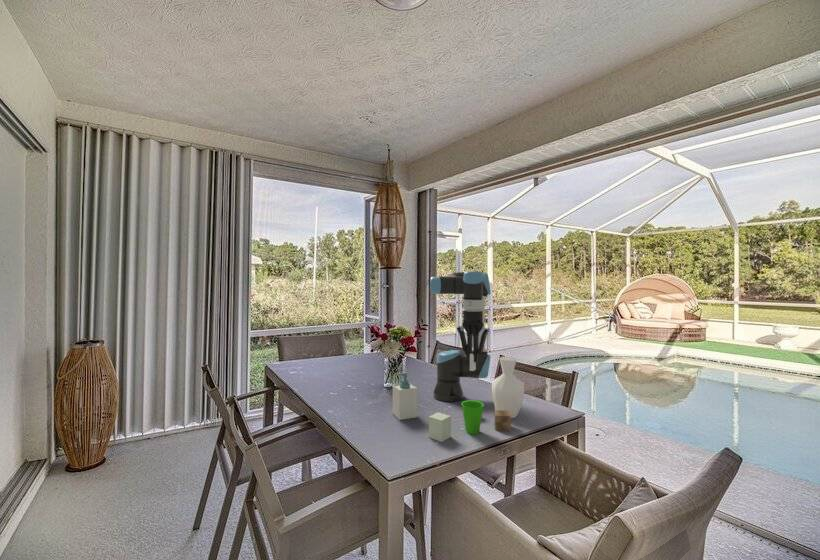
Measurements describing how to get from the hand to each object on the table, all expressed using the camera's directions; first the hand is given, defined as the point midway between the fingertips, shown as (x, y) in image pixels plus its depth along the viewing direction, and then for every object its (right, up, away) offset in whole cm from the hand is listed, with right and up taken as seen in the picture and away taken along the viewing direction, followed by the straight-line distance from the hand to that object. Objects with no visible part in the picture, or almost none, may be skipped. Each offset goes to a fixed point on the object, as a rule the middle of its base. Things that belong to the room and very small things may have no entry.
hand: (472, 370), depth 145 cm
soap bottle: (-27, -25, +17) cm, 40 cm away
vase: (+19, -25, +18) cm, 36 cm away
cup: (0, -25, 0) cm, 25 cm away
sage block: (-13, -25, -5) cm, 28 cm away
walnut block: (+13, -25, +4) cm, 28 cm away
